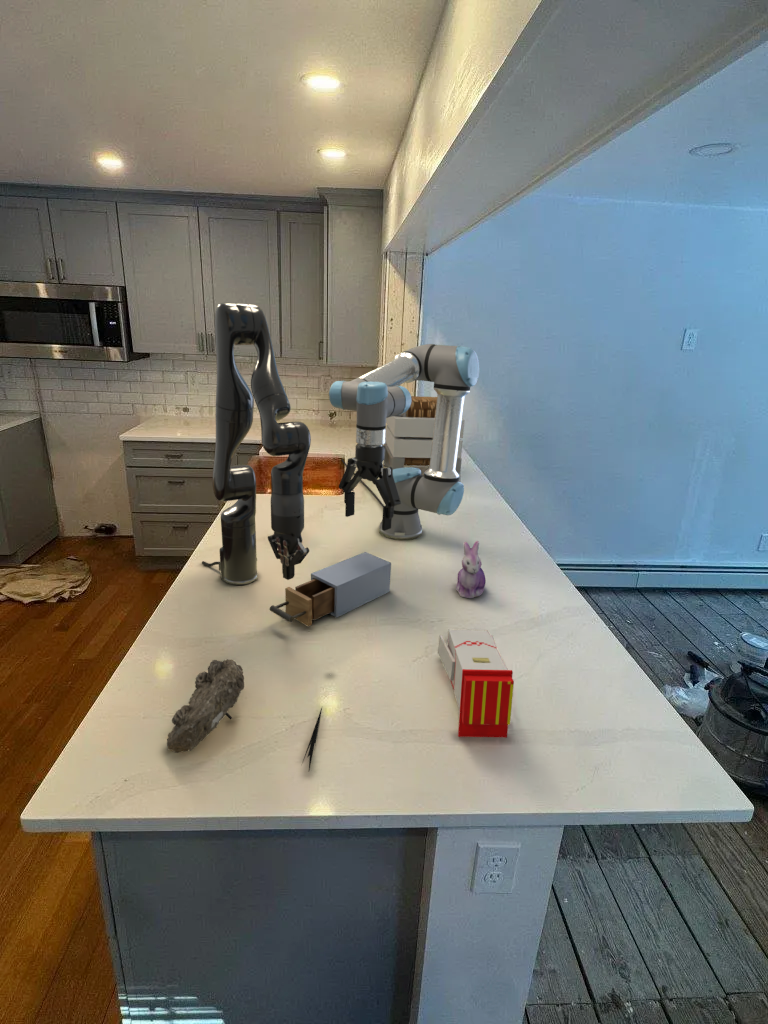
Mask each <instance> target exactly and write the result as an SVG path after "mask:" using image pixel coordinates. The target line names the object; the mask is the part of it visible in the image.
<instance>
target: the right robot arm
mask: <svg viewBox="0 0 768 1024" xmlns="http://www.w3.org/2000/svg"><path fill="white" fill-rule="evenodd" d="M479 376H480V361H479V357H478V354H477V352H476V351H475V350H474V349H473V348H472V347H468V346H462V345H449V344H448V345H446V344H436V343H435V344H434V343H427V344H421V345H420V344H419V345H417V346H413V347H411V348H409V349H406V350H403V351H402V352H399V353H398V354H397V355H395V356H394V358H393V360H391V361H388V362H387V363H385V364H382V365H381V366H379V367H377V368H375V369H373V370H370V371H368V372H366V373H363V374H362V375H360V376H358V377H356V378H354V379H352V380H350V381H346V380H336V381H334V382H332V384H331V385H330V388H329V391H328V397H329V402H330V405H331V406H332V407H334V408H336V409H341V410H343V411H344V410H345V411H354V412H356V426H355V429H356V430H355V443H356V445H355V456H354V457H350V458H348V459H347V463H346V462H345V460H344V459H343V458H341V462H342V463H343V465H344V466H345V467H346V468H345V470H344V472H343V474H342V477H341V480H340V482H339V484H338V489H339V490H342V491H343V494H344V495H343V497H344V498H343V500H344V501H343V502H344V504H345V507H344V508H345V510H344V511H345V512H344V516H345V517H346V518H349V517H352V516H354V515H355V505H356V504H355V501H356V500H355V499H356V496H355V495H356V492H355V490H354V489H355V488H356V487H357V485H358V484H360V483H361V484H362V485H363V486H364V487H365V488H366V489H367V490H368V491H369V492H370V494H372V496H373V497H374V498H375V499H376V501H377V502H378V503H379V504H380V506H381V507H382V519H381V522H379V525H378V533H379V534H380V535H381V536H382V537H385V538H387V539H389V540H395V541H410V540H415V539H418V538H420V537H421V536H422V535H423V525H422V524H421V518H420V515H419V510H421V511H425V512H429V513H433V514H437V515H443V516H452V515H453V514H454V513H456V511H457V510H458V509H459V507H460V505H461V503H462V500H463V497H464V493H465V487H464V486H465V485H464V483H462V482H461V481H460V482H459V474H458V473H457V472H456V470H455V469H456V461H457V452H458V444H459V436H460V428H461V420H462V419H463V410H464V403H465V397H466V396H467V395H468V394H469V393H470V392H471V387H474V386H476V384H477V383H478V379H479ZM415 381H420V382H421V381H423V382H430V383H433V390H434V391H435V393H436V397H437V404H436V413H435V422H434V431H433V440H432V449H431V458H430V466H428V468H427V469H426V470H424V472H423V474H422V470H421V468H419V467H413V466H411V467H409V466H406V467H404V468H397V469H392V467H387V466H384V464H383V463H384V458H385V446H384V444H385V442H386V441H385V438H386V426H387V423H386V418H388V417H392V416H398V415H400V414H402V413H404V412H406V411H407V410H408V409H409V408H410V406H411V402H412V400H411V396H412V395H411V392H410V391H409V390H408V389H407V388H406V386H403V385H402V384H404V383H405V384H409V383H413V382H415ZM399 385H400V386H399ZM356 469H357V470H356ZM363 480H367V481H369V482H372V484H373V485H375V488H376V489H377V491H378V493H379V495H380V498H381V499H382V501H383V503H382V501H381V500H380V498H378V496H377V495H376V494H375V493H374V492H373V490H371V488H369V486H368V485H367V484H366V483H365V482H364V481H363Z"/></svg>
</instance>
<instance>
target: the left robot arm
mask: <svg viewBox="0 0 768 1024" xmlns="http://www.w3.org/2000/svg"><path fill="white" fill-rule="evenodd" d="M269 329H270V328H269V324H268V321H267V318H266V315H265V313H264V311H263V309H262V308H261V306H260V305H257V304H254V303H244V302H243V303H241V302H220V303H219V304H217V306H216V308H215V313H214V341H215V357H216V359H215V361H216V384H215V385H216V388H215V389H216V390H215V414H214V415H215V448H214V458H213V466H212V479H211V480H212V492H213V495H214V497H215V499H216V500H218V501H219V502H232V501H236V502H234V504H232V505H231V506H229V507H227V508H226V509H224V510H223V511H221V513H220V530H221V544H222V546H221V547H220V548H219V561H214V562H211V563H208V562H207V561H203V560H202V561H201V564H202V565H204V566H205V567H213V566H215V565H218V571H220V579H221V580H222V581H224V582H225V583H227V584H229V585H233V586H234V585H235V586H241V585H248V584H251V583H253V582H255V581H256V580H257V579H258V577H259V576H258V556H257V532H256V529H257V528H256V513H257V477H256V474H255V470H254V468H253V467H252V466H251V465H249V464H236V465H232V460H233V457H234V455H235V453H236V451H237V449H238V448H239V447H240V445H241V443H242V442H243V440H245V438H246V436H248V433H250V430H251V428H252V426H253V423H254V412H255V411H254V410H255V409H254V408H255V405H256V408H257V411H258V413H259V419H260V431H261V432H260V433H261V434H260V436H261V445H262V447H263V449H264V451H265V452H266V454H268V455H270V456H271V457H282V456H287V458H286V459H285V460H284V461H282V462H280V463H277V464H276V465H274V466H272V467H271V471H270V489H271V492H270V493H271V494H270V528H271V530H272V531H273V534H271V535H267V541H268V542H269V545H270V547H271V549H272V552H273V554H274V556H275V558H276V559H277V560H280V561H279V562H280V564H281V567H282V568H281V574H282V578H283V579H285V580H287V581H290V580H291V579H294V578H295V575H296V574H295V572H296V571H295V566H296V565H299V564H302V562H303V561H304V559H305V558H306V557H307V556H308V554H309V553H310V548H309V547H307V546H306V547H305V546H304V544H303V537H302V532H303V530H304V529H305V497H304V470H305V467H306V463H307V459H308V455H309V453H310V448H311V444H312V436H311V432H310V429H309V427H308V426H307V424H306V423H304V422H302V421H287V422H278V421H280V420H283V419H284V418H286V417H287V416H289V414H290V412H291V402H290V400H289V398H288V395H287V393H286V390H285V388H284V387H285V386H284V385H283V383H282V380H281V376H280V374H279V370H278V366H277V362H276V358H275V352H274V347H273V342H272V338H271V333H270V330H269ZM248 345H249V346H252V345H253V346H254V348H255V351H256V354H257V355H256V361H255V365H254V368H253V371H252V374H251V377H250V386H249V385H248V383H247V382H246V380H245V379H244V377H243V375H242V374H241V372H240V371H239V368H238V366H237V363H236V360H235V359H236V358H235V351H234V349H235V348H234V347H235V346H248Z"/></svg>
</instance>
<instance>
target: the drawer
mask: <svg viewBox="0 0 768 1024" xmlns="http://www.w3.org/2000/svg"><path fill="white" fill-rule="evenodd" d="M284 591H285V592H284V593H285V596H284V597H285V601H284V602H282V603H279V604H276V605H274V604H273V605H270V607H269V612H271V613H273V614H275V615H277V616H278V617H280V618H282V619H283V620H285V621H287V622H288V623H294V621H295V620H296V621H297V622H300V623H302V624H303V625H305V626H306V627H310V626H312V625H313V621H317V620H318V619H320V618H323V617H324V616H326V615H328V614H329V613H331V612H333V611H334V604H335V588H334V587H332V586H329V585H327V584H325V583H323V582H321V581H319V580H317V579H313V580H311V579H310V580H308V581H306V582H304V583H301V584H299V585H297V586H296V585H295V588H292V587H290V586H287V587H285V590H284ZM282 607H285V611H284V610H283V609H281V608H282ZM329 615H330V614H329Z"/></svg>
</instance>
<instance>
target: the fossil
mask: <svg viewBox="0 0 768 1024" xmlns="http://www.w3.org/2000/svg"><path fill="white" fill-rule="evenodd" d="M243 670H244V669H243V667H242V665H240V664H237V662H236V661H235V660H234V659H232V658H231V659H227V658H226V659H224V660H223V661H222V660H217V659H212V660H211V661H210V663H209V665H208V666H207V671H201V672H199V673H198V674H197V675H196V676H195V680H194V684H195V685H194V687H195V689H194V690H193V693H192V694H191V697H190V698H189V700H188V704H184V705H182V706H181V707H180V709H177V710H176V711H175V713H174V715H173V716H172V718H171V723H172V724H173V727H172V730H171V731H170V732H168V734H167V738H166V741H167V742H166V745H167V749H168V750H169V751H173V752H174V753H176V754H178V753H182V752H188V751H189V752H192V751H193V750H195V748H196V747H197V746H199V744H200V743H201V742H203V741H204V740H205V739H206V738H207V737H208V736H209V735H210V734H211V733H212V732H214V730H215V729H217V727H218V726H219V724H220V722H221V721H222V720H223V719H224V718H225V716H226V717H227V719H229V720H233V717H232V715H230V714H229V710H230V709H231V708H234V706H235V704H236V703H237V702H238V699H239V697H240V695H241V693H242V691H243V690H245V689H244V688H245V675H244V671H243Z"/></svg>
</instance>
